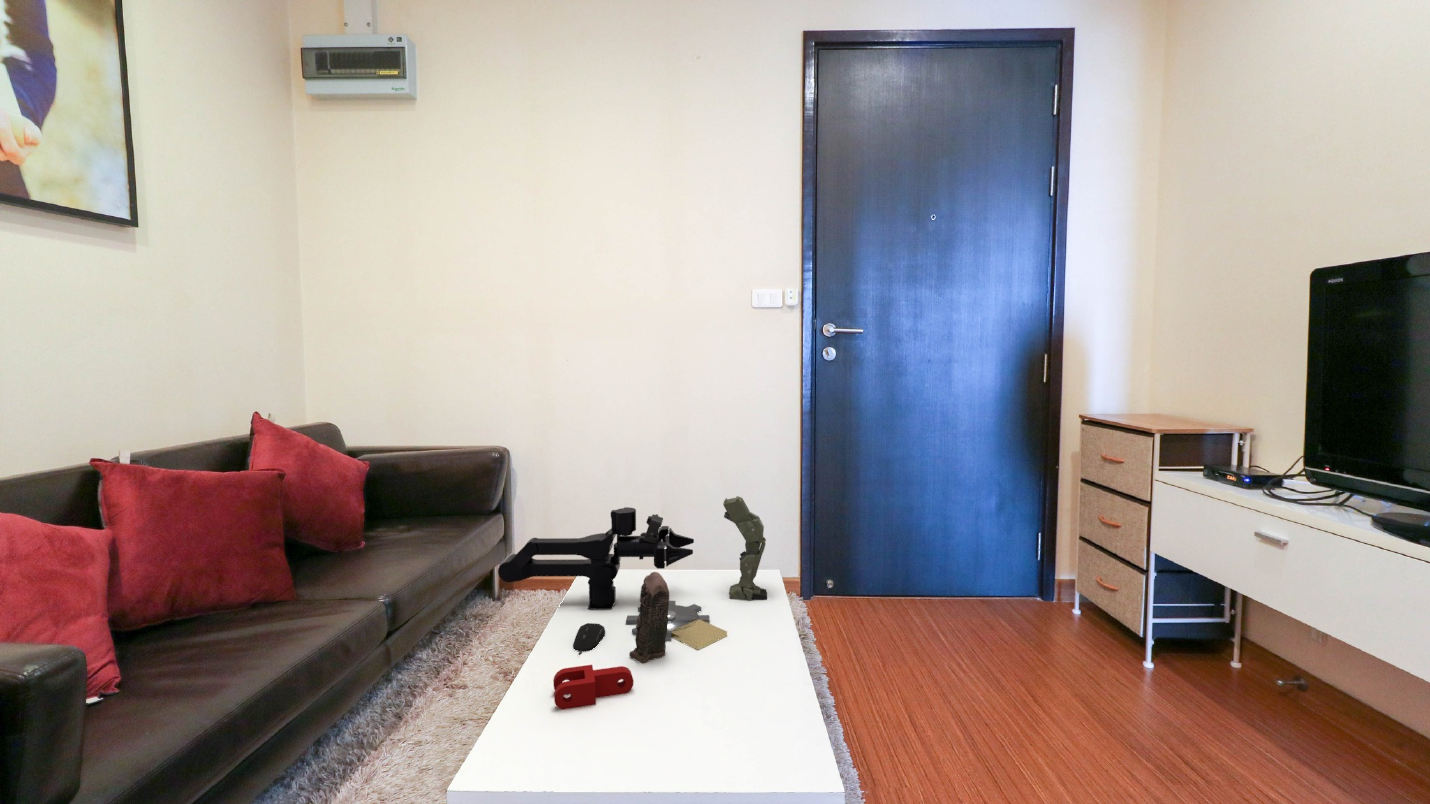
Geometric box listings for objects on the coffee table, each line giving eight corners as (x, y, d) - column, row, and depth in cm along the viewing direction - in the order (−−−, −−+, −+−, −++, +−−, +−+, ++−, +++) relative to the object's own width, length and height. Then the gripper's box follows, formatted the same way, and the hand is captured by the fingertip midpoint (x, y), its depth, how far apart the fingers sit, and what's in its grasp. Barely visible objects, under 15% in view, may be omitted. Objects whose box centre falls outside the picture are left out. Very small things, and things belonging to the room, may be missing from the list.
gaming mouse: (563, 658, 146) (563, 642, 146) (584, 630, 161) (584, 614, 160) (590, 660, 145) (590, 643, 145) (608, 631, 160) (608, 616, 160)
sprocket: (609, 622, 164) (609, 614, 164) (671, 598, 179) (671, 591, 179) (679, 658, 145) (679, 649, 145) (742, 628, 161) (742, 620, 160)
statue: (649, 646, 151) (648, 565, 149) (671, 655, 147) (670, 571, 145) (628, 657, 146) (627, 573, 144) (650, 667, 142) (649, 580, 140)
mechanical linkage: (554, 712, 125) (554, 687, 124) (553, 692, 132) (553, 669, 131) (635, 699, 129) (635, 676, 129) (630, 681, 136) (630, 659, 136)
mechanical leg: (779, 589, 184) (755, 489, 182) (779, 599, 177) (754, 495, 175) (733, 598, 186) (709, 500, 184) (731, 608, 178) (706, 506, 176)
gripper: (631, 527, 164) (692, 527, 164) (639, 508, 182) (694, 508, 182) (632, 569, 165) (692, 569, 165) (640, 546, 183) (694, 546, 183)
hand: (693, 546), depth 174 cm, fingers open, 9 cm apart
